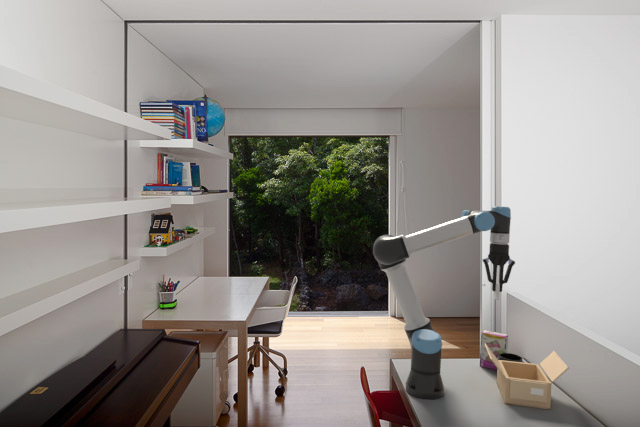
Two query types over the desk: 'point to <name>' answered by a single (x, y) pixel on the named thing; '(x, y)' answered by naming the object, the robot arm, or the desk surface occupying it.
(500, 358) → the mug
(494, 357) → the flap
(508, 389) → the carton
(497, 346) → the candy bar box
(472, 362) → the desk surface
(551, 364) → the flap
